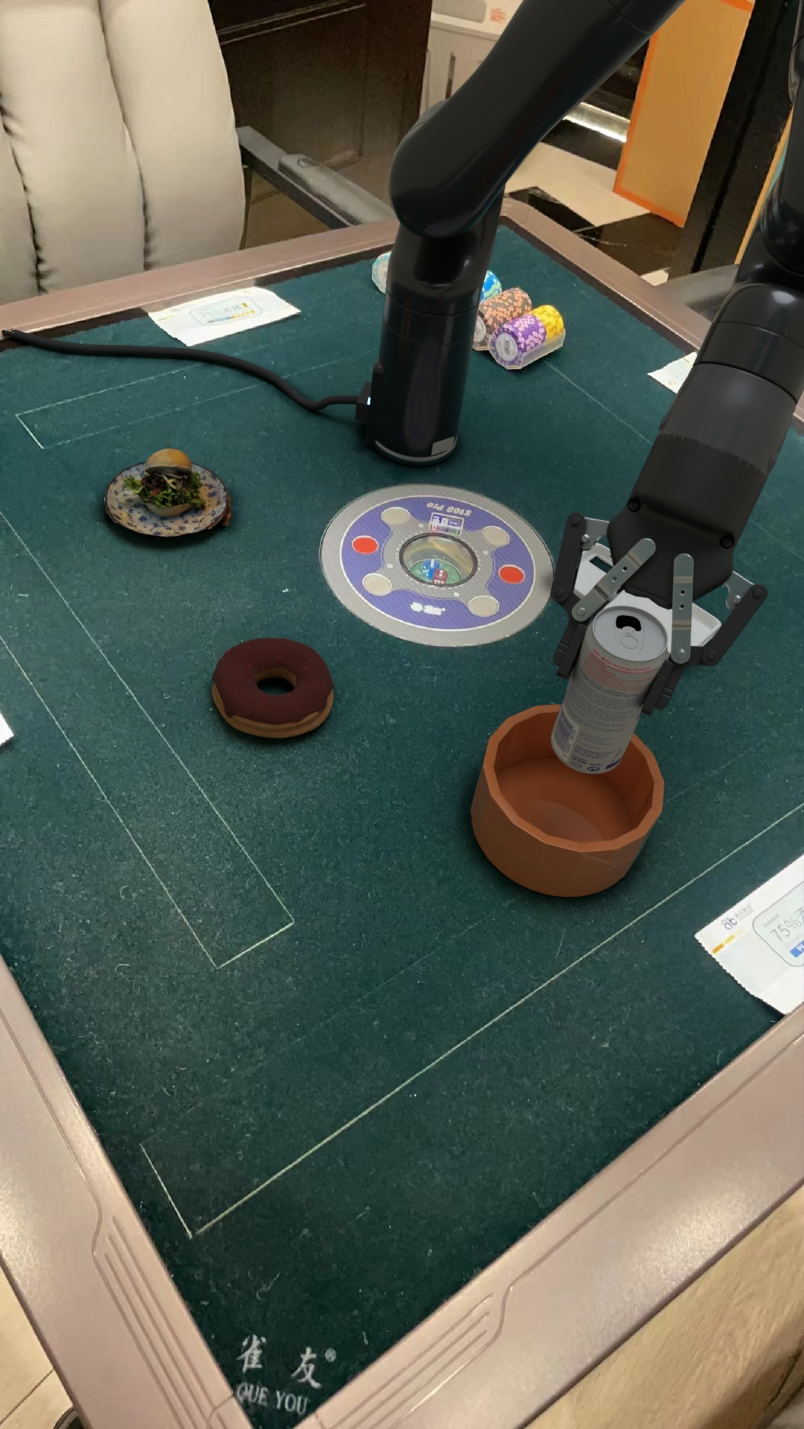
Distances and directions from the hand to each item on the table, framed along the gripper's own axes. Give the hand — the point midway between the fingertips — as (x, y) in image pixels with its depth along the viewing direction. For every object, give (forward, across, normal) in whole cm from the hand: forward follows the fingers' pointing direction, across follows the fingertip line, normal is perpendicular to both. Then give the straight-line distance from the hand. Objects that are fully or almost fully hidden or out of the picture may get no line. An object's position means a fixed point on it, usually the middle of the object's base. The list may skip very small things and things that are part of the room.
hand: (603, 694), depth 69 cm
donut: (+12, +26, -13) cm, 31 cm away
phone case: (-8, +3, -33) cm, 34 cm away
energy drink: (+4, 0, -7) cm, 8 cm away
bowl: (+11, 0, -13) cm, 17 cm away
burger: (+1, +47, -23) cm, 52 cm away
